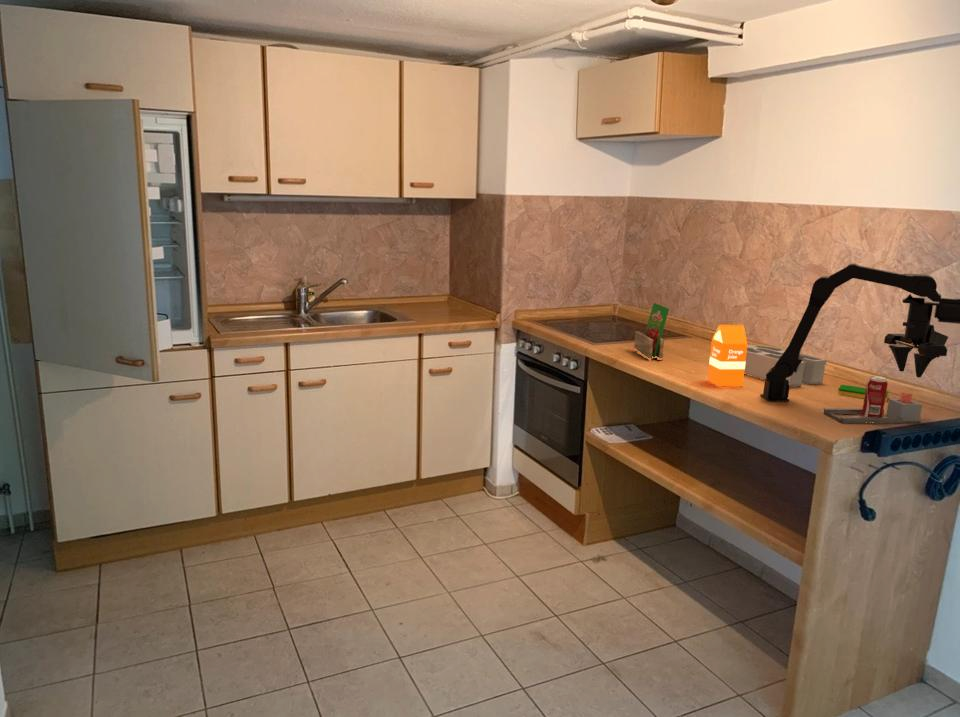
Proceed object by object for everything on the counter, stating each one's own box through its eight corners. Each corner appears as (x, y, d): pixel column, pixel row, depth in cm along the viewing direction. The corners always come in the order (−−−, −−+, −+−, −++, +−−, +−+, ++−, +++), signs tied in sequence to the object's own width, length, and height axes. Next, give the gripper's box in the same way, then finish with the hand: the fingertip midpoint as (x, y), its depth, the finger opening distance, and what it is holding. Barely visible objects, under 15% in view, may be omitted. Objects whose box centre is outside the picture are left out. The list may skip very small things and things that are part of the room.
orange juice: (742, 387, 243) (750, 327, 239) (717, 387, 242) (724, 326, 237) (731, 381, 251) (738, 322, 246) (706, 381, 249) (713, 322, 245)
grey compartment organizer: (789, 389, 243) (793, 363, 242) (725, 370, 268) (728, 346, 266) (823, 384, 251) (827, 359, 249) (758, 366, 275) (761, 343, 273)
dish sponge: (885, 403, 231) (887, 396, 230) (837, 395, 238) (838, 388, 237) (887, 398, 237) (888, 391, 236) (840, 391, 244) (841, 384, 243)
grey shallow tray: (842, 423, 206) (843, 418, 206) (823, 413, 216) (824, 408, 215) (902, 423, 209) (903, 418, 208) (880, 413, 218) (881, 408, 217)
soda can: (863, 414, 216) (870, 374, 213) (883, 418, 213) (890, 377, 210) (859, 418, 212) (865, 377, 210) (879, 422, 209) (886, 380, 206)
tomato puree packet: (638, 351, 293) (652, 302, 289) (640, 351, 293) (655, 302, 289) (652, 360, 278) (668, 308, 274) (655, 360, 278) (670, 309, 274)
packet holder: (648, 360, 277) (650, 339, 275) (633, 351, 293) (635, 331, 291) (662, 360, 277) (664, 340, 276) (647, 351, 294) (648, 331, 292)
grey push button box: (899, 421, 210) (902, 404, 209) (886, 415, 216) (888, 398, 215) (919, 421, 211) (922, 404, 210) (905, 415, 217) (907, 398, 216)
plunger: (902, 412, 212) (905, 395, 210) (896, 409, 214) (898, 392, 213) (911, 412, 212) (914, 395, 211) (904, 409, 215) (907, 392, 214)
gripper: (970, 326, 199) (960, 382, 203) (922, 315, 217) (913, 366, 221) (932, 325, 198) (922, 382, 201) (886, 314, 216) (879, 366, 219)
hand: (909, 374), depth 211 cm, fingers open, 7 cm apart
